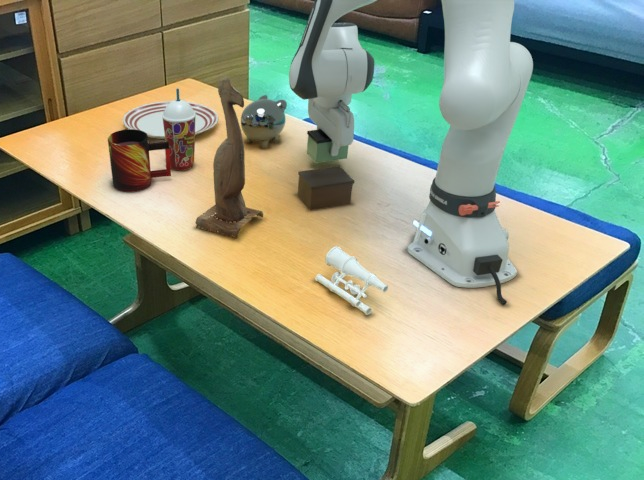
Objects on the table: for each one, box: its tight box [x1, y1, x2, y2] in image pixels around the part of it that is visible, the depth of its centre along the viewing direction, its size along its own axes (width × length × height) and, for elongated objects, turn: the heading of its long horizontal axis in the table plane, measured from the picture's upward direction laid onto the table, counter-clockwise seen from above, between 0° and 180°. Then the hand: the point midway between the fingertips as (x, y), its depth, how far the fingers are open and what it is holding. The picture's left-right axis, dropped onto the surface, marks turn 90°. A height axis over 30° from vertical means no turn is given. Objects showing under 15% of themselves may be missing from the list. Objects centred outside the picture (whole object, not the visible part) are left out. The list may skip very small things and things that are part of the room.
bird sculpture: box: [194, 77, 264, 239], centre depth 142 cm, size 11×12×32 cm
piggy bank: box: [240, 94, 288, 149], centre depth 183 cm, size 11×15×12 cm
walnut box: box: [297, 165, 355, 211], centre depth 158 cm, size 8×10×6 cm
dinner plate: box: [122, 100, 219, 140], centre depth 195 cm, size 27×27×3 cm
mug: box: [107, 128, 172, 193], centre depth 166 cm, size 10×14×12 cm
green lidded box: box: [306, 129, 350, 164], centre depth 170 cm, size 6×9×6 cm
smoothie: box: [162, 88, 196, 172], centre depth 170 cm, size 8×8×20 cm
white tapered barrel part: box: [314, 245, 389, 316], centre depth 128 cm, size 8×14×5 cm
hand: (327, 148), depth 171 cm, fingers closed on green lidded box, 6 cm apart
